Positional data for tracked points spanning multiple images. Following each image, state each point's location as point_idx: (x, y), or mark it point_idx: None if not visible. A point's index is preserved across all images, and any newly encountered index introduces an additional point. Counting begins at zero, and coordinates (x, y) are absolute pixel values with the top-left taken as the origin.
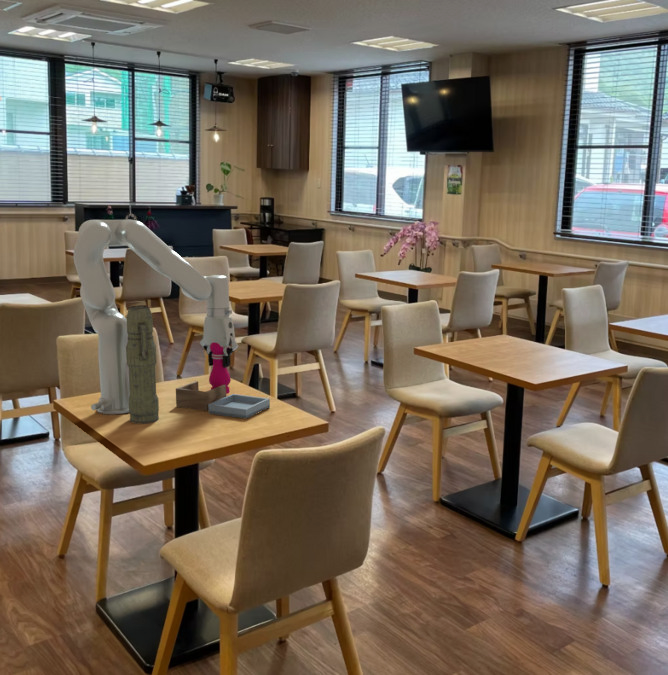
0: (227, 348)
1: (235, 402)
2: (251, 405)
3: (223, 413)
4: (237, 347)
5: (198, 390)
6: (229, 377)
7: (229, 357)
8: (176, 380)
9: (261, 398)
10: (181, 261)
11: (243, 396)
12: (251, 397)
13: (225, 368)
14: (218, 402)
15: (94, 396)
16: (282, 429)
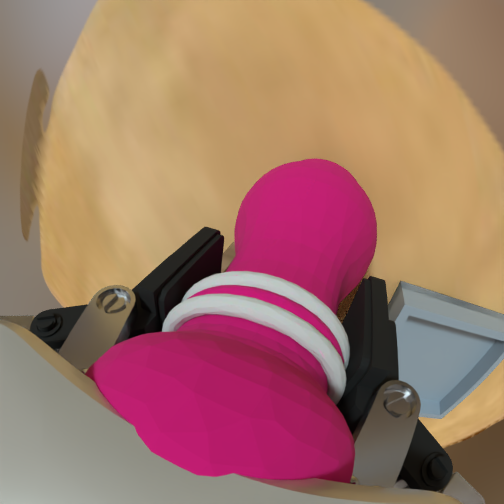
0: (352, 466)
1: (414, 320)
2: (465, 340)
3: None
4: (478, 494)
5: (230, 263)
6: (375, 247)
7: (390, 380)
8: (73, 51)
9: (500, 339)
10: None
11: (447, 324)
12: (473, 332)
13: (346, 286)
14: None
15: (50, 255)
16: (488, 419)
